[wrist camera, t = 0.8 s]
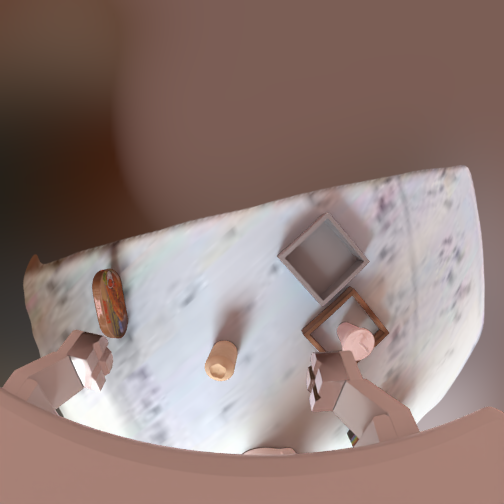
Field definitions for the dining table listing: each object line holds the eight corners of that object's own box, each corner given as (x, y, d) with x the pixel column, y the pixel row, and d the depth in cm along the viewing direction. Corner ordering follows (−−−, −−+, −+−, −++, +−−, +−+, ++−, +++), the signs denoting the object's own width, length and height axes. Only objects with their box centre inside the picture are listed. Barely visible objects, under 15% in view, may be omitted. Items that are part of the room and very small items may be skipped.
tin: (130, 332, 57) (113, 343, 49) (119, 332, 57) (101, 343, 49) (119, 266, 57) (100, 270, 48) (108, 268, 57) (88, 271, 49)
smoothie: (360, 316, 56) (386, 335, 42) (356, 343, 56) (380, 369, 42) (332, 316, 56) (353, 336, 42) (329, 344, 56) (347, 371, 42)
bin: (360, 260, 55) (369, 261, 50) (317, 301, 56) (322, 306, 51) (322, 214, 55) (327, 211, 50) (276, 256, 56) (278, 257, 51)
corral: (383, 329, 55) (389, 332, 52) (339, 370, 56) (342, 375, 53) (349, 286, 55) (354, 288, 52) (301, 330, 56) (303, 334, 53)
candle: (232, 337, 56) (227, 355, 46) (241, 359, 57) (237, 381, 47) (208, 343, 57) (198, 362, 47) (217, 365, 57) (209, 387, 47)
